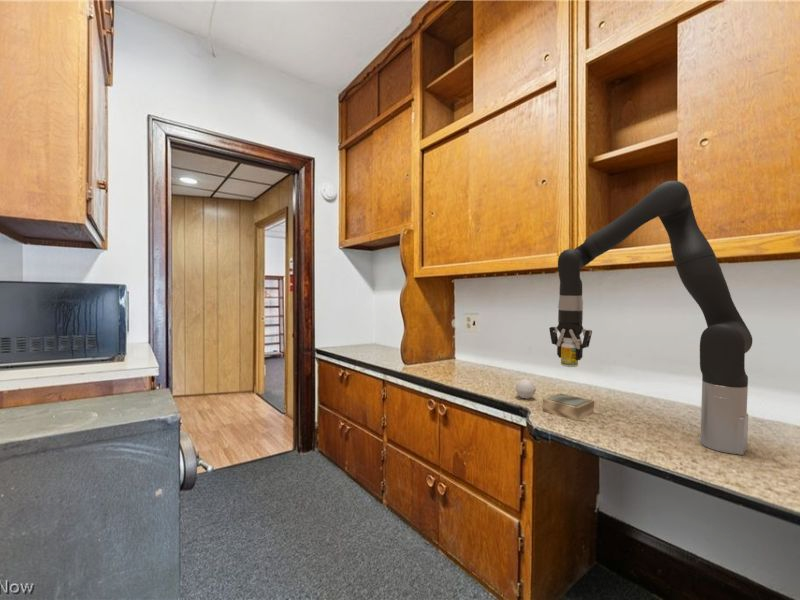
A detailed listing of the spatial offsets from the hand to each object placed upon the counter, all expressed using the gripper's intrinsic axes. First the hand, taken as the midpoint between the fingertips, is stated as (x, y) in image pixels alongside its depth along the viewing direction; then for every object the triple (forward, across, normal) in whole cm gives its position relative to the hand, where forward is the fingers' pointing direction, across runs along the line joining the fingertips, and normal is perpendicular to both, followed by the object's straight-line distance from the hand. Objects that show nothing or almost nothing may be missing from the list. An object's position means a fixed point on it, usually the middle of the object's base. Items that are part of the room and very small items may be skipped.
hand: (569, 358), depth 129 cm
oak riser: (+18, 0, 0) cm, 18 cm away
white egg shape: (+19, +18, -4) cm, 26 cm away
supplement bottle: (+3, 0, 0) cm, 3 cm away
